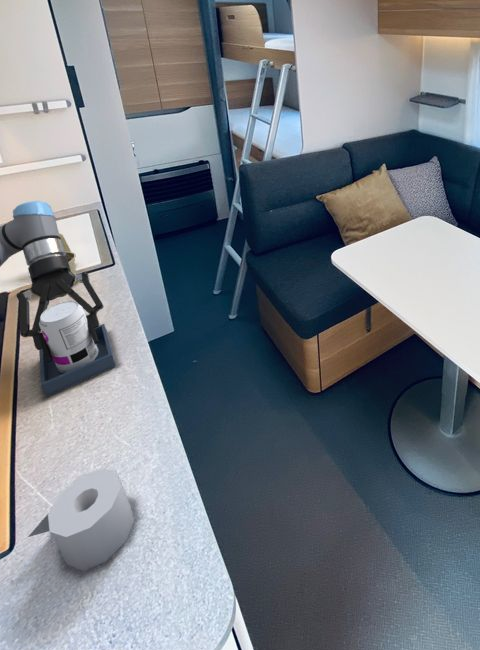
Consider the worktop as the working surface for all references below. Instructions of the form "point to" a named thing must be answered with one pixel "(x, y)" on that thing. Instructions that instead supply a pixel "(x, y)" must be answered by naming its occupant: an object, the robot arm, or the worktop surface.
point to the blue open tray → (59, 381)
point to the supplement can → (68, 335)
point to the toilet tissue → (89, 519)
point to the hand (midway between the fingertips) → (73, 351)
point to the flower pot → (71, 262)
